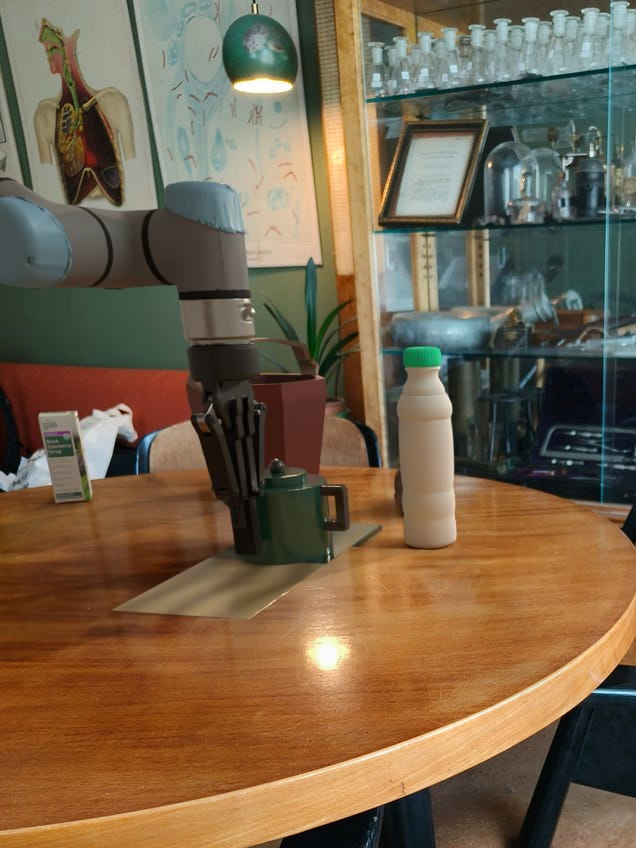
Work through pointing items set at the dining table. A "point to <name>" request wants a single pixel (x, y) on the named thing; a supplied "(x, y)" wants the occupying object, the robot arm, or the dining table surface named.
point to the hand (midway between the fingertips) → (248, 553)
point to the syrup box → (65, 456)
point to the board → (237, 582)
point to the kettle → (296, 516)
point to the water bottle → (426, 452)
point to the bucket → (286, 410)
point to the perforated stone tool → (398, 489)
